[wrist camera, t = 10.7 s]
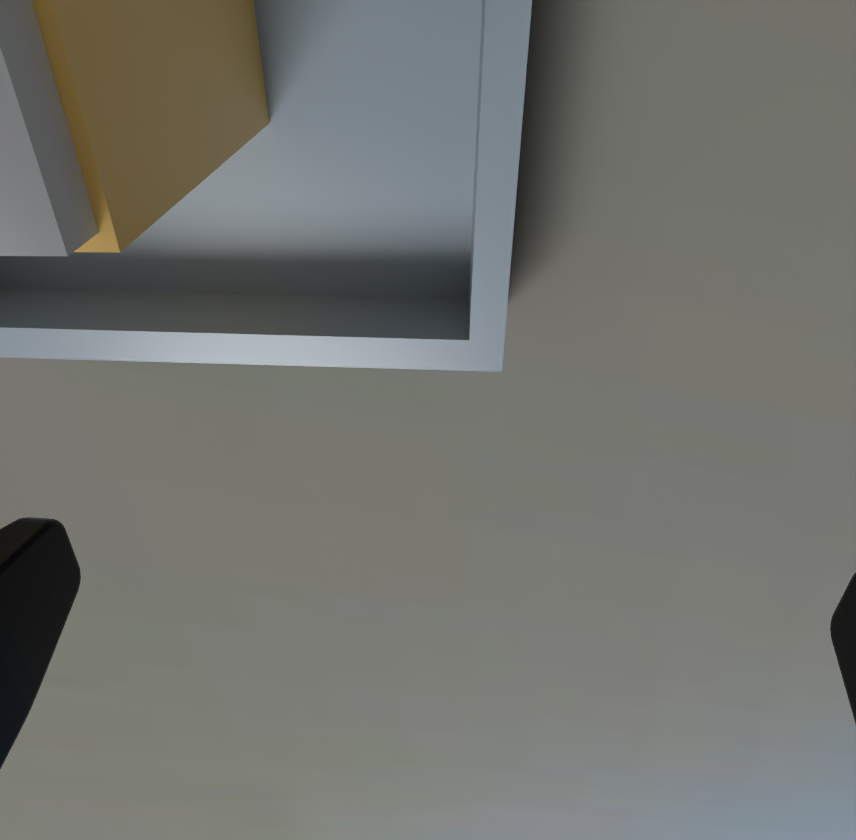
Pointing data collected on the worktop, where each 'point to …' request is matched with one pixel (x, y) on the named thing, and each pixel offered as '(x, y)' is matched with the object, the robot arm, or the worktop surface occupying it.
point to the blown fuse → (117, 114)
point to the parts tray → (323, 209)
